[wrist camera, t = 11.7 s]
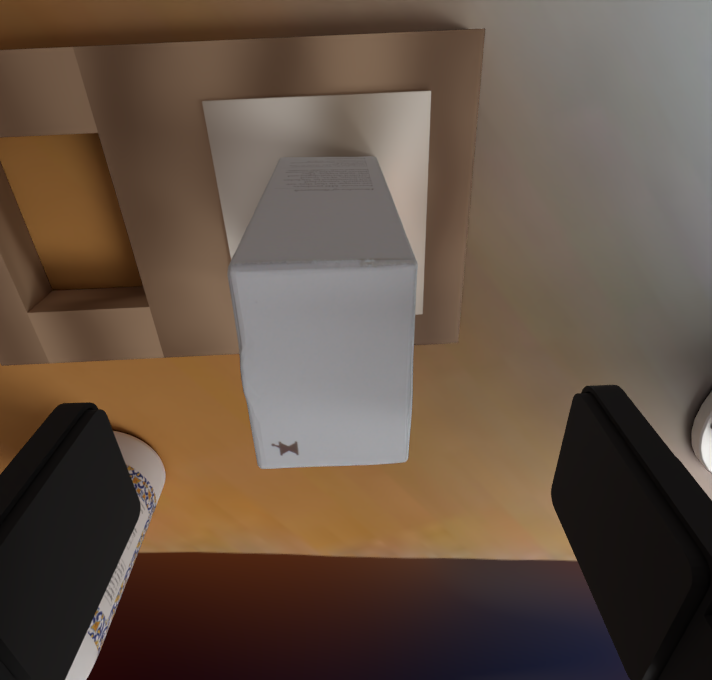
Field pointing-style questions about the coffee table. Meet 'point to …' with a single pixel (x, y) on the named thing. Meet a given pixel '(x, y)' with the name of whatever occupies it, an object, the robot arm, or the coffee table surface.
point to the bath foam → (148, 486)
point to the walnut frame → (233, 173)
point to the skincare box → (326, 316)
